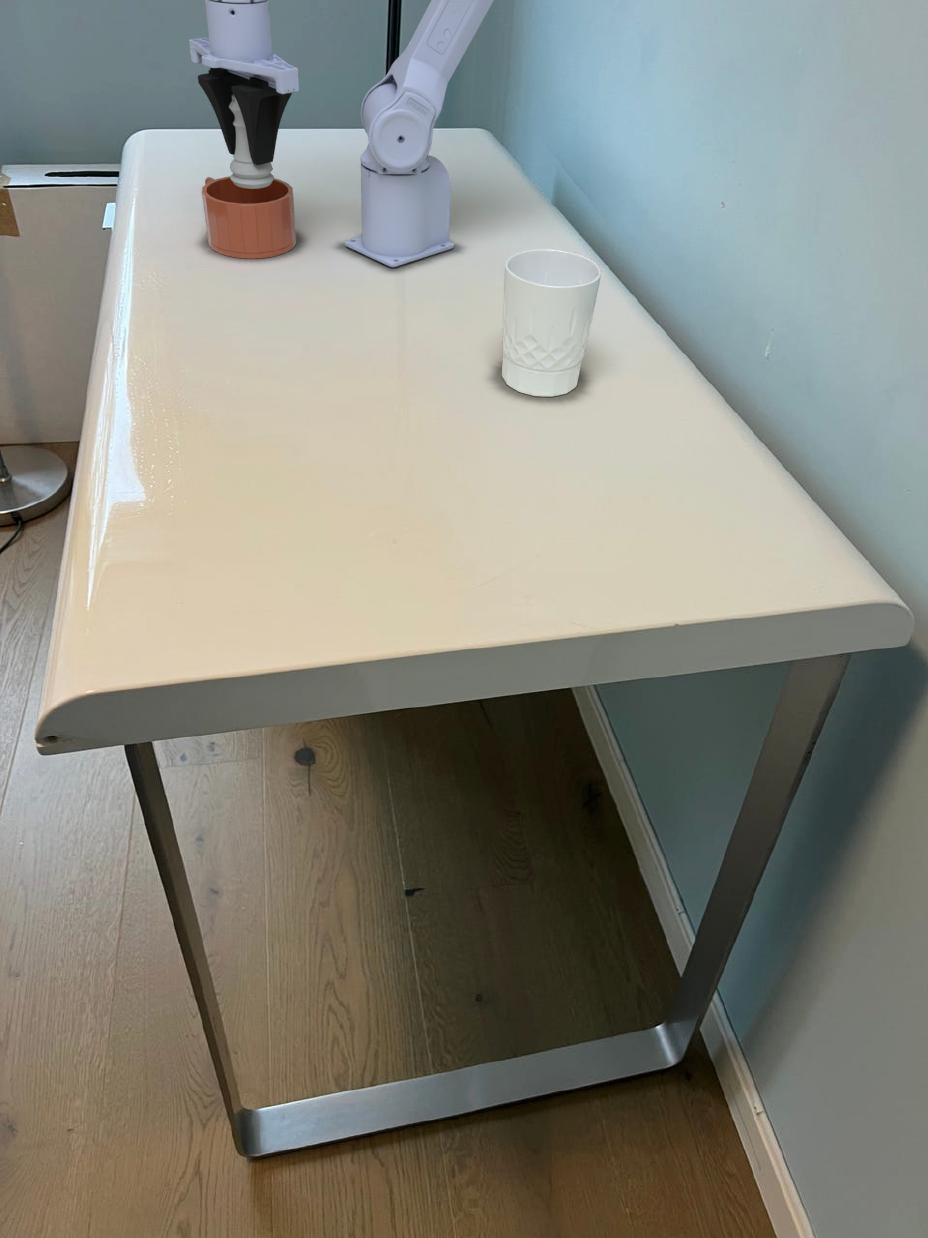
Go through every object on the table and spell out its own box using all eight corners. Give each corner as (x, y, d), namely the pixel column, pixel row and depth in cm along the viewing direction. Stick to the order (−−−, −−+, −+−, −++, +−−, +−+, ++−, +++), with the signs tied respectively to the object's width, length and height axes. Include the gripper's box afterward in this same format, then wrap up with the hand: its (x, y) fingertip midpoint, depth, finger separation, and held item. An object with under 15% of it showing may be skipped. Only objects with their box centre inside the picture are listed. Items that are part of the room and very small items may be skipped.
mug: (313, 245, 103) (310, 192, 99) (242, 265, 98) (236, 211, 94) (246, 212, 109) (241, 162, 106) (175, 230, 104) (168, 178, 100)
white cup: (579, 407, 80) (596, 292, 73) (488, 393, 81) (497, 279, 74) (588, 365, 86) (605, 255, 79) (503, 352, 86) (513, 243, 80)
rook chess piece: (232, 174, 98) (223, 88, 92) (275, 175, 98) (269, 90, 93) (228, 188, 94) (219, 100, 89) (273, 190, 95) (267, 102, 90)
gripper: (153, -13, 87) (175, 145, 96) (248, 16, 80) (262, 184, 89) (217, -18, 91) (233, 134, 100) (313, 9, 84) (320, 170, 93)
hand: (250, 157), depth 95 cm, fingers closed on rook chess piece, 3 cm apart
